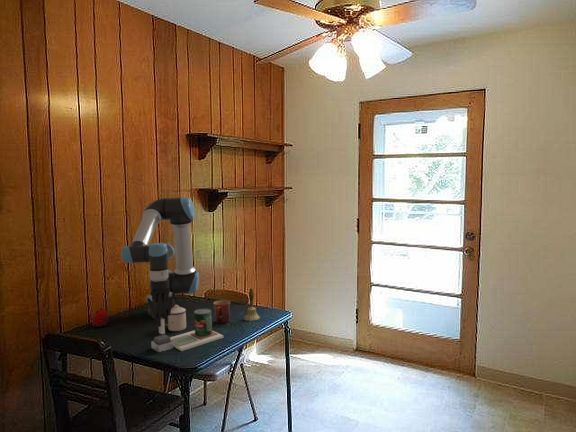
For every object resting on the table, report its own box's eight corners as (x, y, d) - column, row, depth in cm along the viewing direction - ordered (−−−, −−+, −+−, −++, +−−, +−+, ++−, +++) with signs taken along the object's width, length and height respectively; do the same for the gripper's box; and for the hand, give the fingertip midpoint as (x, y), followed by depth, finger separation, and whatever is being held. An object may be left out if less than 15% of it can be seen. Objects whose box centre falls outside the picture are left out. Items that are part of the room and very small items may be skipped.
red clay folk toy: (101, 323, 216) (99, 294, 215) (112, 324, 214) (110, 295, 213) (90, 327, 209) (88, 298, 208) (101, 329, 207) (99, 299, 206)
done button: (154, 344, 180) (154, 337, 180) (165, 341, 183) (164, 334, 183) (159, 347, 176) (159, 340, 176) (170, 344, 180) (170, 337, 179)
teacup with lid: (185, 324, 211) (184, 301, 210) (188, 329, 203) (187, 306, 202) (160, 327, 206) (159, 305, 205) (163, 333, 198) (161, 309, 197)
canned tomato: (213, 330, 197) (212, 308, 196) (210, 336, 189) (209, 313, 188) (196, 331, 196) (195, 308, 196) (193, 337, 189) (192, 313, 188)
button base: (151, 348, 180) (151, 341, 180) (166, 343, 185) (166, 337, 185) (158, 352, 175) (158, 345, 175) (174, 348, 180) (173, 341, 179)
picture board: (163, 341, 188) (163, 339, 188) (204, 329, 202) (204, 327, 202) (181, 351, 176) (181, 348, 176) (223, 337, 191) (223, 335, 191)
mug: (217, 318, 218) (216, 299, 217) (233, 319, 216) (232, 300, 215) (208, 326, 206) (208, 306, 206) (225, 327, 205) (224, 307, 204)
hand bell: (244, 316, 221) (243, 287, 220) (259, 315, 222) (258, 286, 220) (243, 321, 213) (242, 291, 211) (259, 320, 213) (259, 290, 212)
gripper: (148, 283, 170) (151, 339, 172) (177, 278, 179) (179, 331, 181) (141, 280, 176) (143, 334, 178) (169, 275, 185) (171, 327, 186)
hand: (161, 333), depth 179 cm, fingers closed
